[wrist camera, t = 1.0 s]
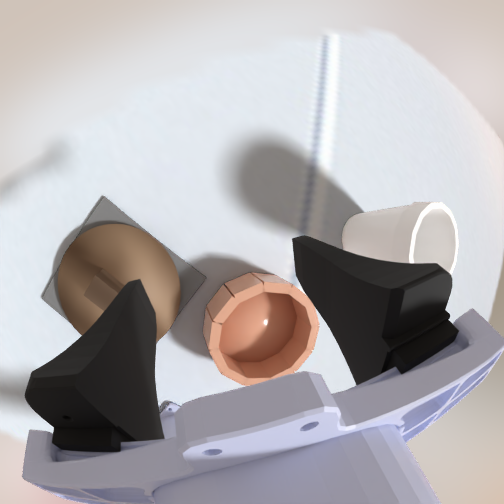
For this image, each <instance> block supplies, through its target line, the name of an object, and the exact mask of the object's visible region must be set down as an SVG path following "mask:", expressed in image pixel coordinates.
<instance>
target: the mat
mask: <svg viewBox="0 0 504 504" xmlns="http://www.w3.org/2000/svg"><path fill="white" fill-rule="evenodd" d="M106 224H125V225H129V226H133V227H136V228H139V229H141V230H143V231H145V232H147V231H146V230H145V229H143V228H142V227H141V226H140V225H138V224H137V223H136V222H135V221H133V220H132V219H131V218H130V217H129V216H127V215H126V214H125V213H124V212H123V211H121V210H120V209H119V208H118V207H117V206H115V205H114V204H113V203H112V202H111V201H109V200H108V199H107V198H106V197H104V198H103V199H102V200H101V202H100V203H99V205H98V206H97V207H96V209H95V210H94V212H93V213H92V215H91V216H90V217H89V219H88V220H87V222H86V223H85V225H84V226H83V228H82V229H81V231H80V233H79V234H78V236H77V237H76V238H78V237H79V236H80V235H81V234H83V233H84V232H86V231H88V230H90V229H92V228H95V227H97V226H101V225H106ZM147 233H148V232H147ZM148 234H149V233H148ZM150 235H151V234H150ZM151 236H152V235H151ZM155 239H156V238H155ZM156 240H157V239H156ZM157 241H158V240H157ZM158 242H159V241H158ZM160 243H161V242H160ZM161 244H162V243H161ZM162 246H163V247H164V248H165V249H166V250H167V252H168V253H169V255H170V256H171V258H172V260H173V262H174V264H175V266H176V269H177V272H178V276H179V281H180V289H181V299H180V306H179V310H178V313H177V316H178V314H179V313H180V312H181V310H182V309H183V308H184V306H185V305H186V304H187V303H188V301H189V300H190V299H191V297H192V296H193V295H194V293H195V292H196V291H197V290H198V288H199V287H200V286H201V284H202V283H203V282H204V280H205V279H206V277H205V276H204V275H202V274H201V273H200V272H198V271H197V270H196V269H194V268H193V267H192V266H190V265H189V264H188V263H186V262H185V261H184V260H183V259H181V258H180V257H179V256H177V255H176V254H175V253H173V252H172V251H171V250H170V249H168V248H167V247H166V246H165V245H163V244H162ZM59 268H60V266H59ZM59 268H58V269H57V271H56V273H55V275H54V277H53V278H52V280H51V282H50V284H49V286H48V288H47V290H46V292H45V294H44V296H43V298H42V299H43V300H44V301H45V302H46V303H47V304H48V305H50V306H51V307H52V308H53V309H54V310H55V311H57V312H58V313H59V314H60V315H61V316H63V317H64V318H65V319H66V320H68V318H67V316H66V315H65V312H64V310H63V308H62V305H61V302H60V298H59V293H58V273H59ZM177 316H176V317H177ZM68 321H69V320H68ZM69 322H70V321H69ZM158 341H159V340H158ZM158 341H157V342H158ZM157 342H156V343H157Z"/></svg>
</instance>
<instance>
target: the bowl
mask: <svg viewBox="0 0 504 504" xmlns="http://www.w3.org/2000/svg"><path fill="white" fill-rule="evenodd" d="M318 325H319V321H318V317H317V314H316V310H315V307H314V305H313V303H312V302H311V301H310V299H309V298H308V297H307V296H306V295H305V294H304V293H302V292H301V291H300V290H299V289H298V288H296V287H295V286H294V285H292V284H291V283H289V282H287V281H285V280H284V279H282V278H280V277H278V276H276V275H271V274H262V273H253V272H251V274H250V273H247V274H245V275H242V276H240V277H238V278H235V279H233V280H231V281H229V282H226V283H225V285H222V286H221V288H220V289H219V290H218V291H217V293H216V294H215V295H214V297H213V298H212V299H211V300H210V302H209V303H208V304H207V307H206V310H205V318H204V326H203V335H204V338H205V341H206V344H207V347H208V350H209V352H210V354H211V356H212V358H213V360H214V362H215V364H216V366H217V368H218V369H219V371H220V373H221V374H222V375H224V376H226V377H228V378H230V379H232V380H234V381H236V382H238V383H240V384H242V385H245V386H249V385H253V384H257V383H261V382H264V381H267V380H271V379H274V378H277V377H281V376H284V375H287V374H292V373H295V372H294V371H297V370H298V369H299V367H300V366H301V365H302V364H303V363H304V361H305V360H306V359H307V358H308V357H309V355H310V354H311V353H312V351H311V350H314V346H315V342H316V338H317V334H318V330H319V326H318Z"/></svg>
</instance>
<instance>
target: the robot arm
mask: <svg viewBox="0 0 504 504" xmlns="http://www.w3.org/2000/svg"><path fill="white" fill-rule="evenodd" d="M292 242H293V251H294V261H295V272H296V276H297V278H298V280H299V282H300V284H301V286H302V288H303V290H304V292H305V293H306V295H307V296H308V298H309V299H310V301H311V302H312V303H313V305H314V306H315V308H316V309H317V310H318V312H319V313H320V315H321V316H322V318H323V319H324V320H325V322H326V323H327V325H328V327H329V328H330V330H331V332H332V334H333V335H334V337H335V339H336V341H337V343H338V345H339V347H340V349H341V351H342V353H343V355H344V357H345V360H346V362H347V364H348V366H349V368H350V371H351V373H352V375H353V378H354V380H355V383H356V385H357V386H355V387H352V388H350V389H348V390H346V391H342V392H338V393H333V394H331V393H330V391H329V389H328V387H327V385H326V383H325V381H324V380H323V378H322V376H321V374H316V373H311V372H306V371H303V372H298V373H292V374H287V375H284V376H281V377H277V378H274V379H271V380H267V381H264V382H261V383H257V384H253V385H250V386H246V387H242V388H239V389H235V390H231V391H227V392H222V393H218V394H214V395H209V396H204V397H200V398H197V399H195V400H192V401H189V402H186V403H184V404H183V405H182V406H181V407H180V406H178V405H176V404H174V403H169V404H168V405H167V406H166V408H165V409H164V410H163V411H162V412H161V413H160V414H159V408H158V401H157V393H156V384H155V355H156V338H157V323H156V312H155V310H154V308H153V306H152V304H151V301H150V299H149V297H148V295H147V293H146V291H145V288H144V286H143V284H142V282H141V279H137V280H133V281H129V282H128V283H127V284H126V285H125V286H124V287H123V288H122V289H121V291H120V292H119V293H118V295H117V296H116V297H115V298H114V300H113V301H112V302H111V304H110V305H109V306H108V307H107V309H106V310H105V311H104V312H103V313H102V315H101V316H100V317H99V318H98V319H97V321H96V322H95V323H94V324H93V325H92V326H91V327H90V328H89V329H88V330H87V331H86V332H85V333H84V334H83V335H82V336H81V337H80V338H79V339H78V340H77V341H76V342H74V343H73V344H72V345H71V346H70V347H69V348H67V349H66V350H65V351H64V352H62V353H61V354H60V355H58V356H57V357H55V358H54V359H53V360H51V361H50V362H48V363H46V364H45V365H43V366H41V367H40V368H38V369H36V370H34V371H33V372H32V373H31V376H30V379H29V382H28V385H27V388H26V392H25V398H26V401H27V402H28V404H29V405H30V407H31V408H32V409H33V410H34V411H35V412H36V413H37V414H38V415H40V416H41V417H42V418H43V419H44V420H45V421H47V422H48V423H49V424H50V425H52V426H53V427H54V432H53V434H52V433H50V432H47V431H40V430H29V434H28V440H27V445H26V452H25V458H24V466H23V475H22V477H23V479H24V480H26V481H28V482H30V483H32V484H34V485H35V486H37V487H39V488H41V489H43V490H45V491H48V492H50V493H52V494H54V495H56V496H58V497H61V498H63V499H67V500H71V501H76V502H81V503H86V504H441V502H440V501H439V499H438V497H437V495H436V494H435V492H434V490H433V488H432V487H431V485H430V483H429V481H428V480H427V478H426V476H425V474H424V473H423V471H422V469H421V468H420V466H419V464H418V462H417V461H416V459H415V457H414V456H413V454H412V452H411V451H410V449H409V447H408V446H407V444H406V442H408V441H409V440H411V439H412V438H413V437H415V436H416V435H418V434H419V433H420V432H422V431H423V430H425V429H426V428H427V427H429V426H430V425H431V424H433V423H434V422H435V421H437V420H438V419H439V418H440V417H442V416H443V415H444V414H445V413H447V412H448V411H449V410H450V409H451V408H453V407H454V406H455V405H456V404H457V403H458V402H460V401H461V400H462V399H463V398H464V397H465V396H466V395H467V394H469V393H470V392H471V391H472V390H473V389H474V388H475V387H476V386H477V385H479V384H480V383H481V382H482V381H483V380H484V378H485V377H486V376H487V374H488V373H489V372H490V370H491V369H492V367H493V366H494V364H495V363H496V361H497V360H498V358H499V357H500V355H501V353H502V352H503V350H504V338H503V337H502V336H501V335H500V334H499V333H498V332H497V331H496V330H495V329H494V328H493V327H492V326H491V325H490V324H489V323H488V322H487V321H486V320H485V319H484V318H483V317H482V316H481V315H479V314H478V313H477V312H476V311H475V310H474V309H470V310H469V311H467V312H466V313H464V314H463V315H462V316H460V317H459V318H458V319H456V320H455V322H454V323H453V324H452V323H451V322H450V321H449V320H448V319H449V318H450V314H449V313H448V312H447V311H446V310H445V309H446V306H447V303H448V300H449V296H450V293H451V289H452V277H451V274H450V273H449V272H447V271H446V270H445V269H444V268H442V267H441V266H440V265H439V264H437V263H400V262H391V261H384V260H378V259H373V258H369V257H365V256H361V255H357V254H354V253H351V252H348V251H345V250H342V249H339V248H337V247H334V246H331V245H329V244H326V243H324V242H321V241H319V240H316V239H314V238H311V237H308V236H305V235H304V236H300V237H296V238H292ZM169 408H171V409H169Z"/></svg>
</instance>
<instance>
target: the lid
mask: <svg viewBox="0 0 504 504" xmlns="http://www.w3.org/2000/svg"><path fill="white" fill-rule="evenodd" d="M137 279H141V282H142V284H143V286H144V288H145V291H146V293H147V295H148V297H149V299H150V301H151V304H152V306H153V308H154V310H155V312H156V323H157V338H156V342H157V341H158V340H159V339H161V338H162V337H163V336H164V335H165V334H166V333H167V331H168V330H169V329H170V327H171V326H172V324H173V323H174V321H175V318H176V316H177V313H178V310H179V306H180V299H181V289H180V281H179V276H178V272H177V269H176V266H175V264H174V262H173V260H172V258H171V256H170V255H169V253H168V252H167V250H166V249H165V248H164V247H163V246H162V244H161V243H160V242H158V241H157V240H156V239H155V238H154V237H153V236H151V235H150V234H148V233H147V232H145V231H143V230H141V229H139V228H136V227H133V226H129V225H125V224H106V225H101V226H97V227H95V228H92V229H90V230H88V231H86V232H84V233H83V234H81V235H80V236H79V237H78V238H76V239H75V240H74V242H73V243H72V244H71V245H70V246H69V248H68V249H67V251H66V252H65V254H64V256H63V258H62V261H61V264H60V268H59V273H58V293H59V298H60V302H61V305H62V308H63V310H64V312H65V315H66V316H67V318H68V320H69V321H70V323H71V324H72V325H73V327H74V328H75V329H76V330H77V331H78V332H79V333H80V334H81V335H83V334H84V333H85V332H86V331H87V330H88V329H89V328H90V327H91V326H92V325H93V324H94V323H95V322H96V321H97V319H98V318H99V317H100V316H101V315H102V313H103V312H104V311H105V310H106V309H107V307H108V306H109V305H110V304H111V302H112V301H113V300H114V298H115V297H116V296H117V295H118V293H119V292H120V291H121V289H122V288H123V287H124V286H125V285H126V284H127V283H128V282H129V281H133V280H137Z"/></svg>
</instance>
